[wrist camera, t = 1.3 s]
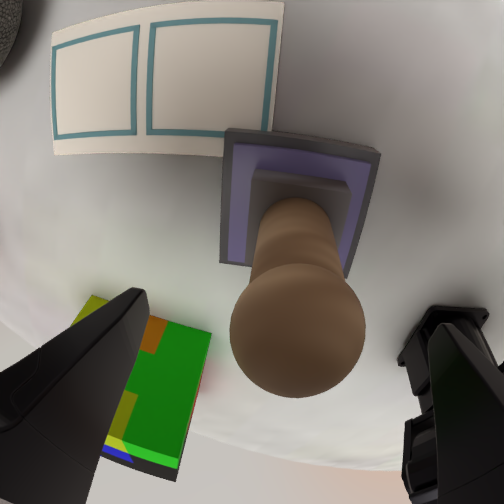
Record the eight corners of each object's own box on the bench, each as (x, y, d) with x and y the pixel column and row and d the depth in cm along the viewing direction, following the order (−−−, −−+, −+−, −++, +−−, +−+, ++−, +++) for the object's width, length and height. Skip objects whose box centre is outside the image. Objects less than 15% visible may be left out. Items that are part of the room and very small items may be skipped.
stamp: (345, 181, 12) (415, 337, 5) (327, 256, 14) (350, 424, 7) (255, 168, 12) (206, 317, 5) (248, 246, 15) (211, 413, 7)
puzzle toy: (106, 361, 26) (70, 441, 18) (92, 294, 21) (29, 394, 12) (198, 392, 26) (175, 482, 18) (211, 332, 21) (178, 458, 13)
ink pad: (373, 147, 13) (383, 156, 11) (343, 266, 16) (348, 283, 15) (229, 126, 13) (222, 132, 12) (223, 250, 17) (217, 267, 15)
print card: (284, 3, 9) (284, 1, 9) (268, 160, 14) (268, 162, 13) (54, 32, 10) (51, 32, 10) (56, 154, 14) (53, 155, 14)
